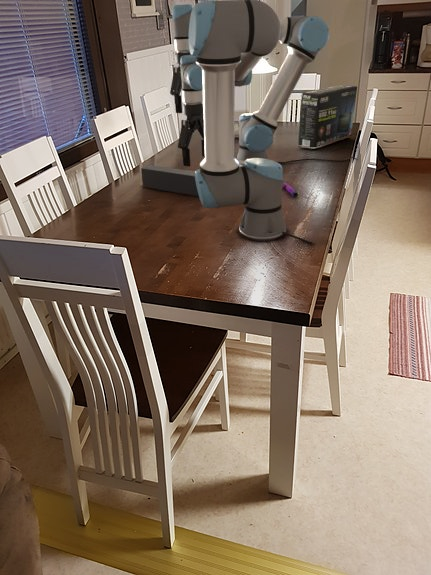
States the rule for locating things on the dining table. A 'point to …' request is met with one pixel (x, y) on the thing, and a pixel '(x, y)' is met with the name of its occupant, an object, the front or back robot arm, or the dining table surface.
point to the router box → (326, 115)
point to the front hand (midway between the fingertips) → (196, 161)
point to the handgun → (289, 189)
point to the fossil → (236, 130)
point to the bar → (169, 179)
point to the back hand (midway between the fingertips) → (188, 110)
